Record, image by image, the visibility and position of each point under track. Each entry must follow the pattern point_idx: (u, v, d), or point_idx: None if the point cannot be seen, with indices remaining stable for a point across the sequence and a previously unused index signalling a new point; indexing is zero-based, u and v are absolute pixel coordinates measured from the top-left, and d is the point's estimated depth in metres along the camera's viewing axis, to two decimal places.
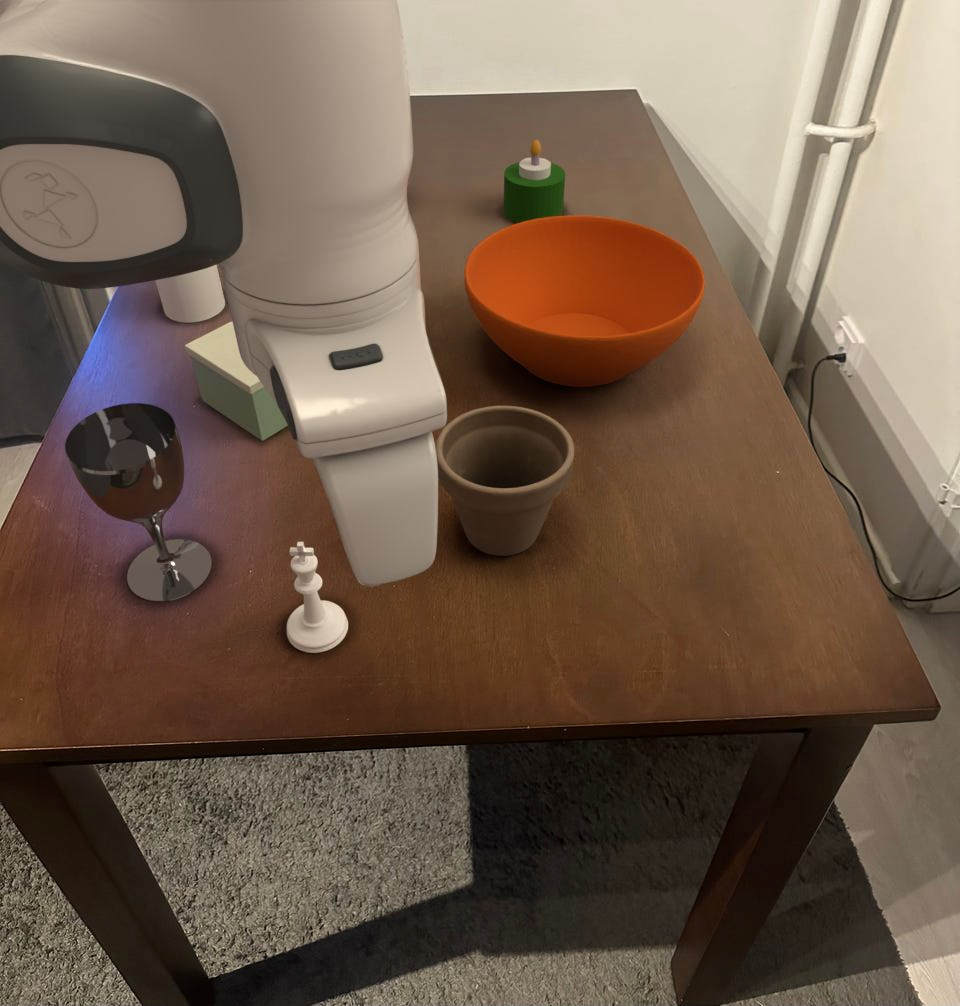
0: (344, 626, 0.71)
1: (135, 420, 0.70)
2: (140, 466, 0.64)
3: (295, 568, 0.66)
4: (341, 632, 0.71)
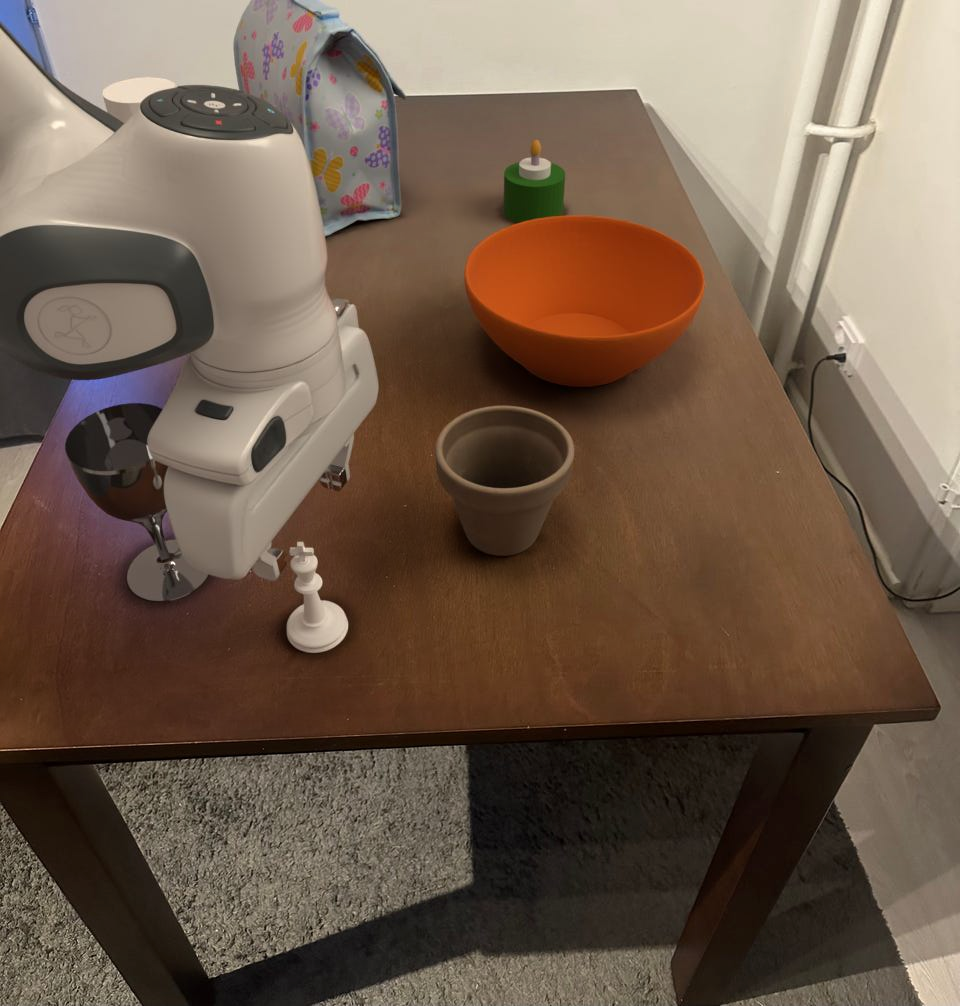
0: (344, 626, 0.71)
1: (135, 420, 0.70)
2: (140, 466, 0.64)
3: (295, 568, 0.66)
4: (341, 632, 0.71)
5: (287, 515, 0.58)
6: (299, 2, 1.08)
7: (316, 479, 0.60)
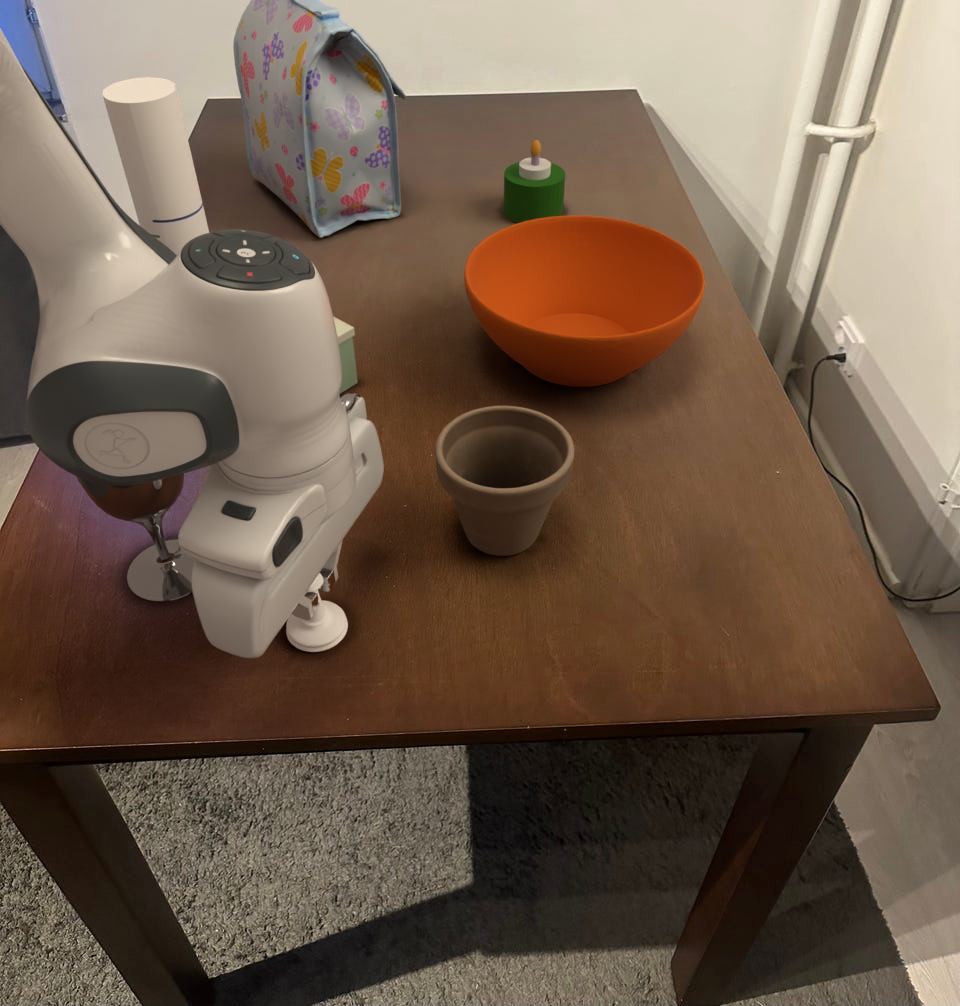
0: (344, 625, 0.71)
1: None
2: None
3: None
4: (341, 631, 0.71)
5: (301, 595, 0.63)
6: (299, 2, 1.08)
7: (327, 559, 0.66)
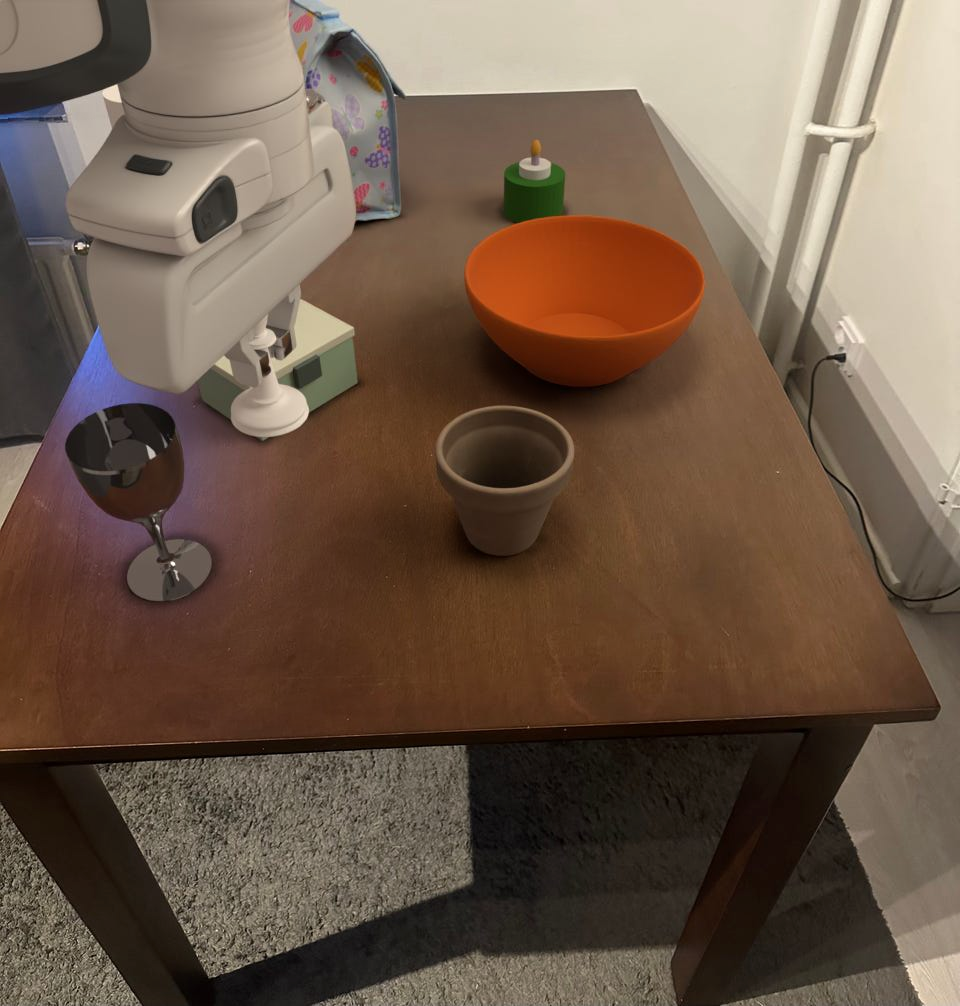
0: (304, 408, 0.57)
1: (135, 420, 0.70)
2: (140, 466, 0.64)
3: None
4: (300, 414, 0.56)
5: (242, 330, 0.48)
6: (299, 2, 1.08)
7: (278, 299, 0.51)
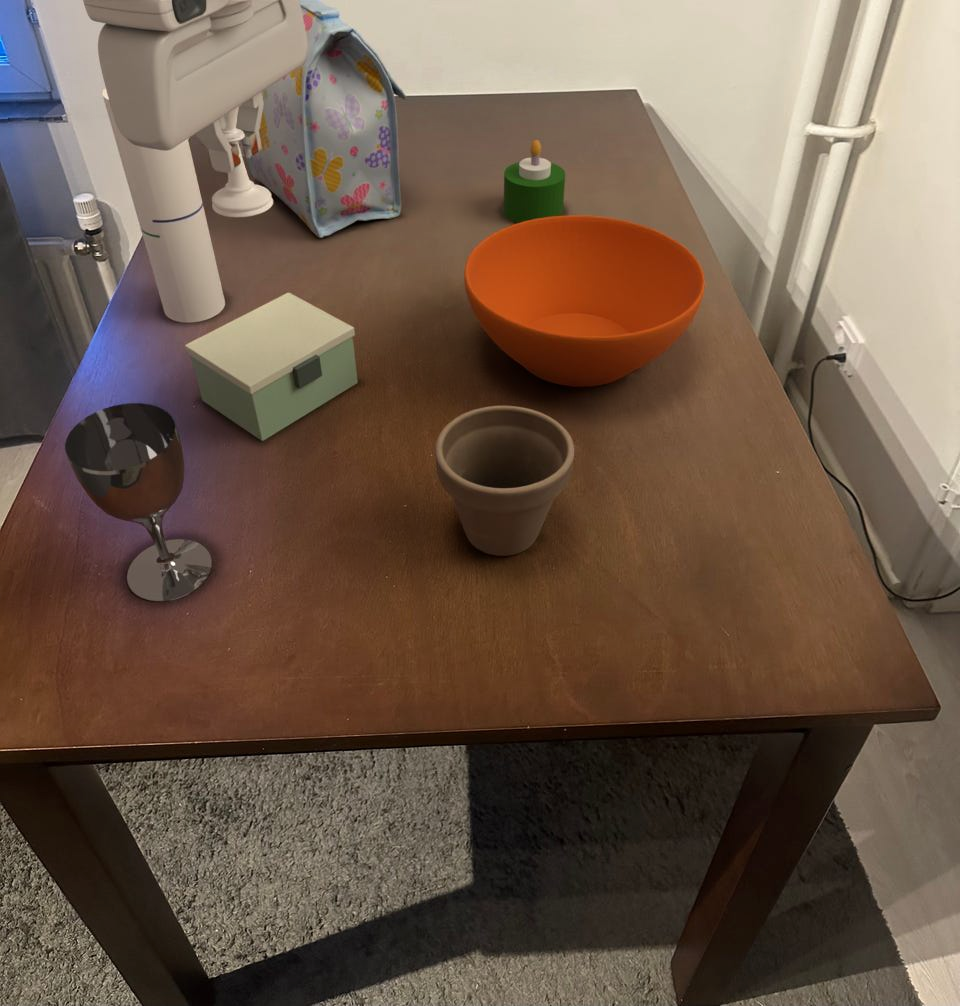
0: (268, 197, 0.73)
1: (135, 420, 0.70)
2: (140, 466, 0.64)
3: None
4: (265, 201, 0.72)
5: (214, 113, 0.64)
6: None
7: (244, 97, 0.67)
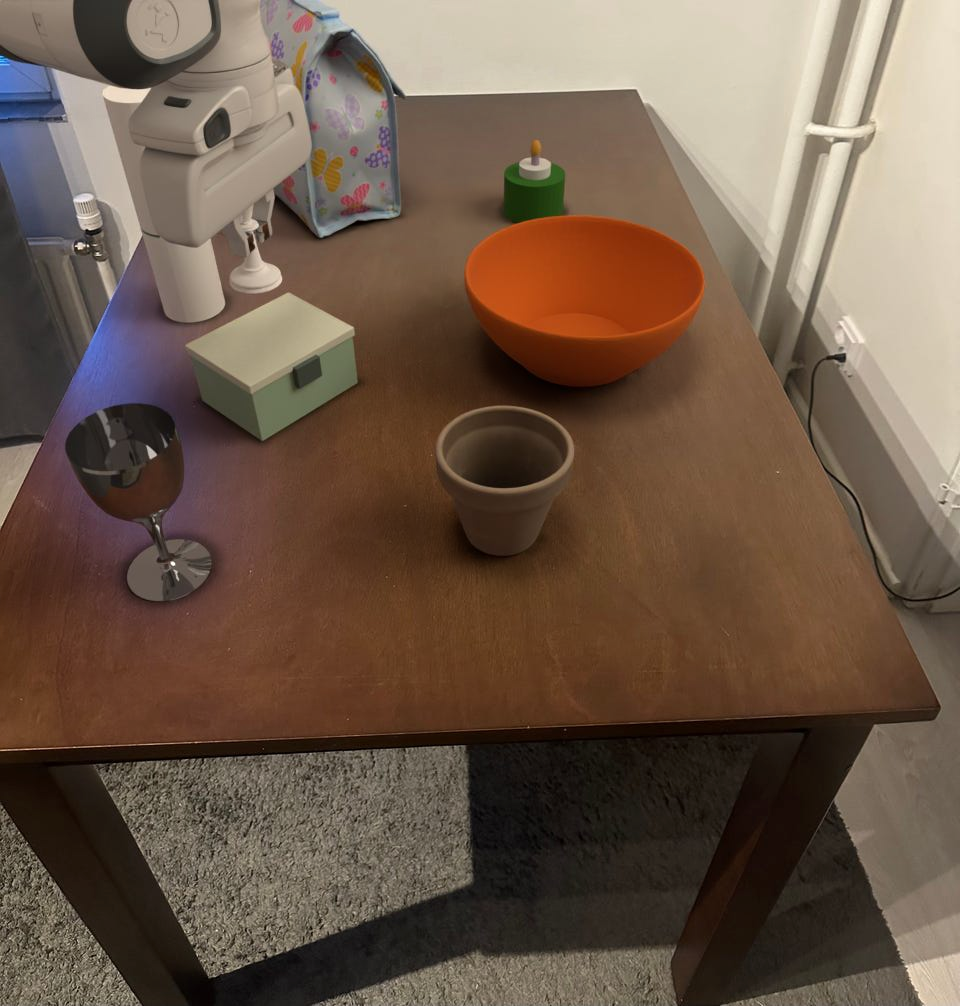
0: (278, 276, 0.84)
1: (135, 420, 0.70)
2: (140, 466, 0.64)
3: None
4: (276, 279, 0.84)
5: (235, 213, 0.76)
6: (299, 2, 1.08)
7: (259, 196, 0.79)
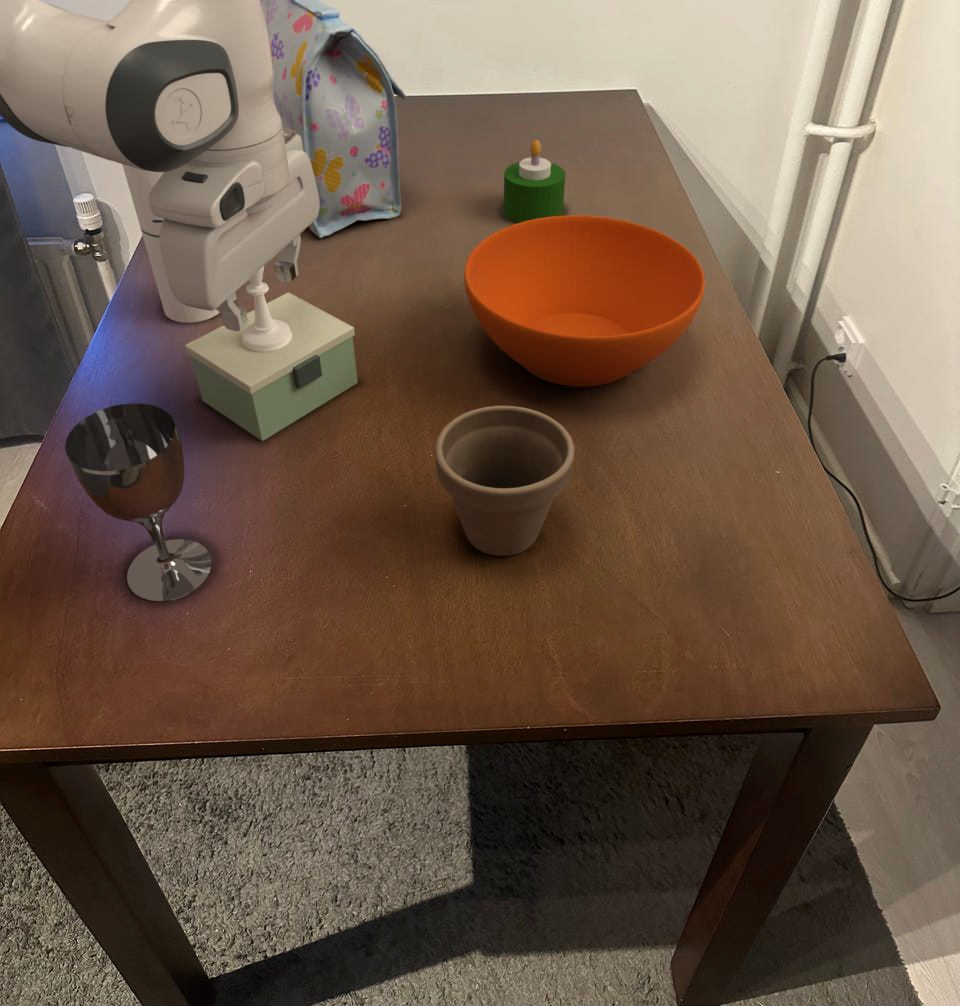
0: (288, 333, 0.89)
1: (135, 420, 0.70)
2: (140, 466, 0.64)
3: None
4: (286, 337, 0.88)
5: (248, 275, 0.80)
6: (299, 2, 1.08)
7: (270, 257, 0.83)
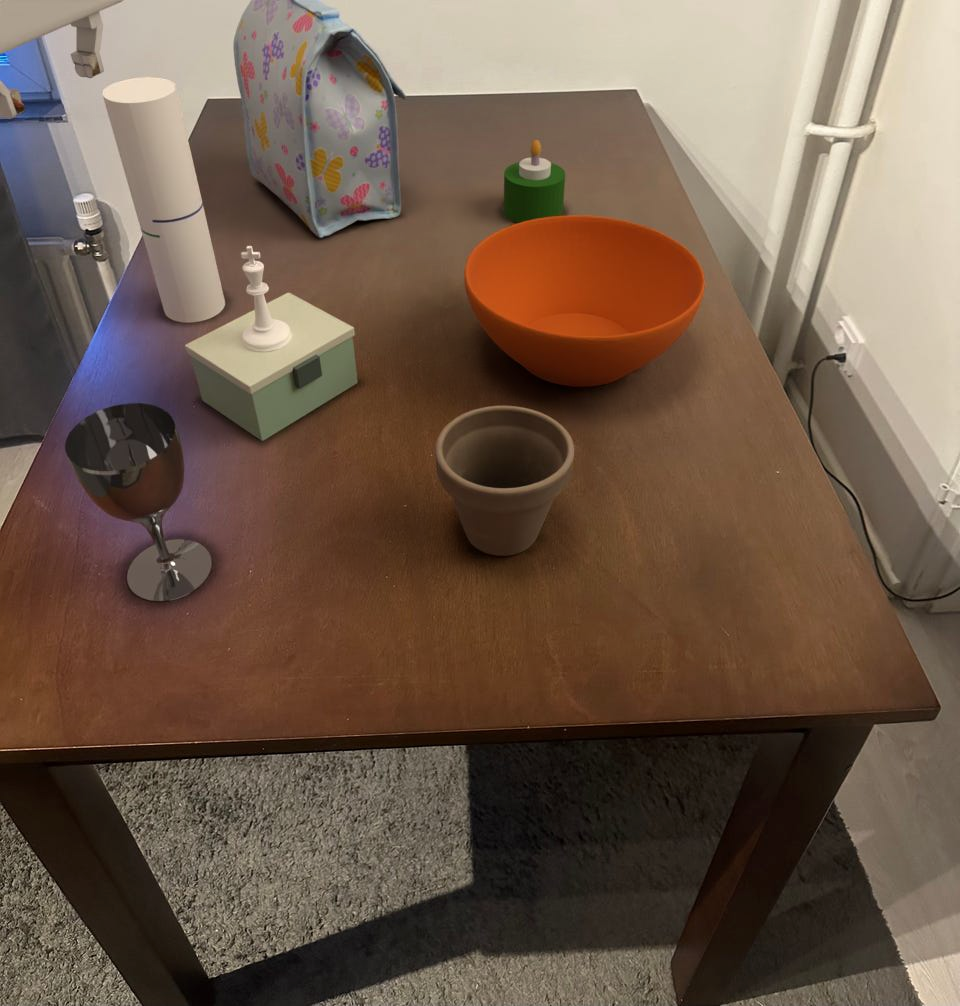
0: (288, 333, 0.89)
1: (135, 420, 0.70)
2: (140, 466, 0.64)
3: (246, 269, 0.83)
4: (286, 337, 0.88)
5: (12, 40, 0.65)
6: (299, 2, 1.08)
7: (48, 27, 0.68)
